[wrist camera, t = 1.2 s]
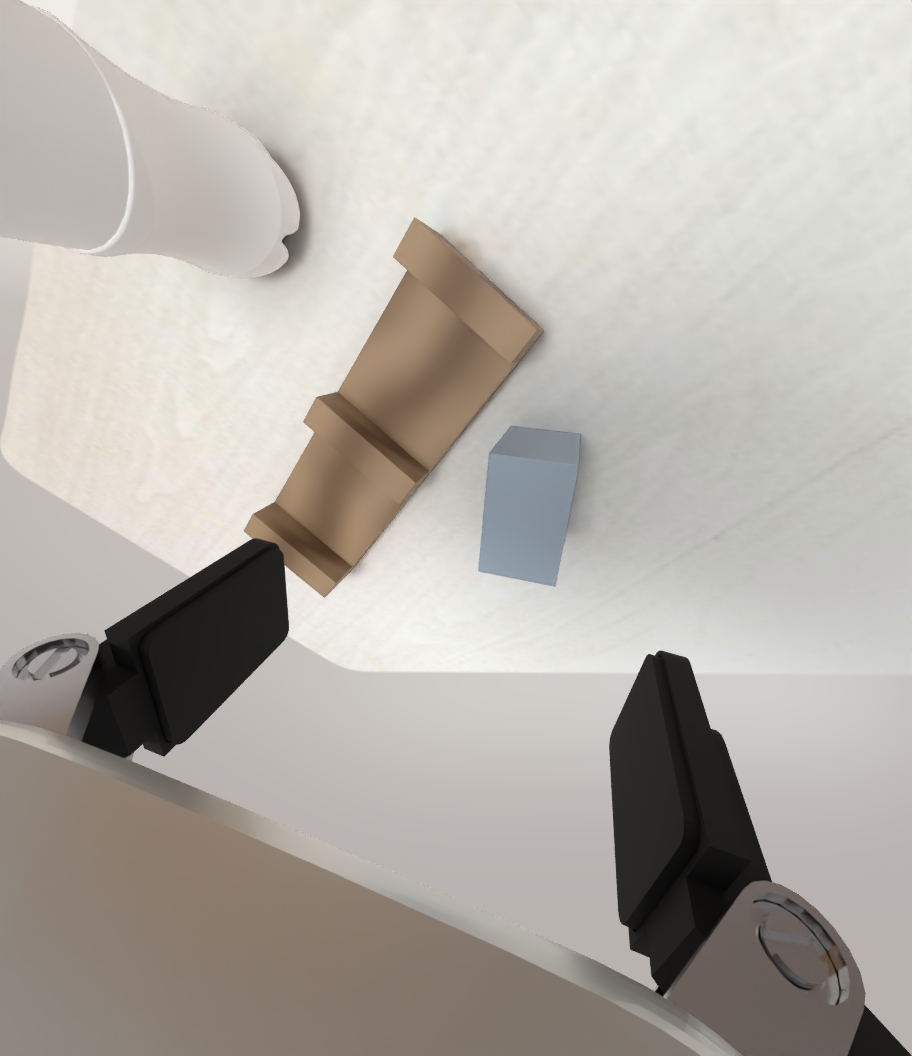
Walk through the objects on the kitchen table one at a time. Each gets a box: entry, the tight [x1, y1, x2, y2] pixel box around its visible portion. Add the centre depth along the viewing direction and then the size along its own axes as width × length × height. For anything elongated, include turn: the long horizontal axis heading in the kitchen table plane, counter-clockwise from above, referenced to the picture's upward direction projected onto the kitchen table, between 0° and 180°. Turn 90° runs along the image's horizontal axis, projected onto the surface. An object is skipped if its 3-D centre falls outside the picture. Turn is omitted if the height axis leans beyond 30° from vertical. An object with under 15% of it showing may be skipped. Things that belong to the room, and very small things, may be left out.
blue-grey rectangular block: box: [478, 426, 581, 586], centre depth 25 cm, size 4×7×7 cm, turn 176°
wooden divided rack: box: [244, 217, 544, 598], centre depth 28 cm, size 8×24×4 cm, turn 141°
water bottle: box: [0, 0, 300, 278], centre depth 15 cm, size 7×7×25 cm
